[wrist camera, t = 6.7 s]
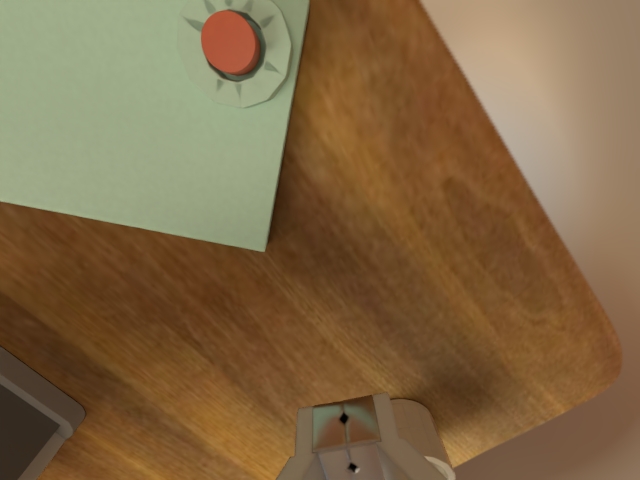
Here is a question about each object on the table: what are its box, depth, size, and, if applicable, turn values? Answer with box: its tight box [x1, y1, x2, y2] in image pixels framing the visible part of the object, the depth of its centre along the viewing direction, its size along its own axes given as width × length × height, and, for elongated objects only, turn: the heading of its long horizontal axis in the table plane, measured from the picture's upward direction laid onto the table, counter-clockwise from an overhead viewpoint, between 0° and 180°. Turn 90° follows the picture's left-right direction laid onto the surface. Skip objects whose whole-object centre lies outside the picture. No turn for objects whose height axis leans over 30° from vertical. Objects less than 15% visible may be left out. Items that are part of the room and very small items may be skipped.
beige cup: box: [390, 399, 455, 480], centre depth 27 cm, size 7×7×5 cm
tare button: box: [201, 10, 261, 75], centre depth 15 cm, size 2×2×2 cm
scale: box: [0, 0, 310, 252], centre depth 18 cm, size 16×14×3 cm
